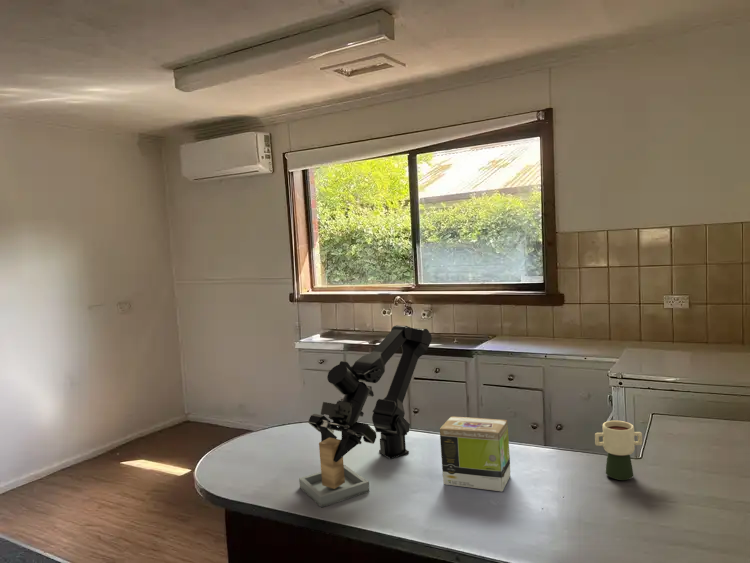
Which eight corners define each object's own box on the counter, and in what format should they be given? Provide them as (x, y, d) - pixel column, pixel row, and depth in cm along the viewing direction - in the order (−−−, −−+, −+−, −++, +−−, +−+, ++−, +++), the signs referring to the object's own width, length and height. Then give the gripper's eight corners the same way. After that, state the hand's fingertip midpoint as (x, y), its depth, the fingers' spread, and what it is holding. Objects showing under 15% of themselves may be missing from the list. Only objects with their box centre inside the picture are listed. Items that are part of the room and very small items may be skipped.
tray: (345, 473, 154) (344, 464, 154) (369, 491, 143) (368, 481, 142) (299, 487, 147) (299, 478, 147) (321, 507, 136) (320, 497, 136)
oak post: (332, 479, 148) (329, 437, 147) (344, 482, 145) (341, 440, 144) (322, 485, 144) (318, 442, 143) (334, 488, 142) (331, 445, 141)
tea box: (511, 475, 146) (508, 418, 145) (502, 493, 137) (499, 433, 136) (454, 468, 153) (450, 414, 151) (442, 485, 143) (438, 427, 142)
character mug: (638, 470, 144) (637, 419, 143) (647, 483, 137) (646, 430, 136) (592, 470, 146) (591, 420, 144) (599, 483, 139) (598, 431, 137)
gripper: (309, 383, 151) (282, 438, 144) (366, 392, 140) (340, 452, 132) (331, 404, 158) (307, 457, 151) (387, 414, 147) (363, 472, 139)
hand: (328, 459), depth 143 cm, fingers open, 4 cm apart
